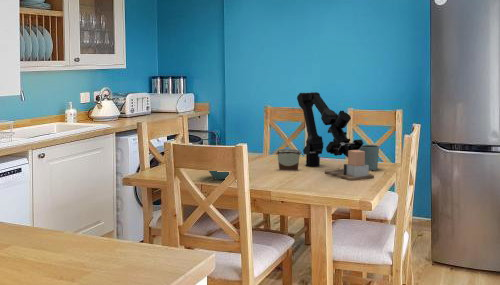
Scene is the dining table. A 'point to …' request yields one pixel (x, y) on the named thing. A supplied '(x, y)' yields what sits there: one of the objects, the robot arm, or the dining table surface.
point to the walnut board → (341, 175)
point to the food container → (288, 159)
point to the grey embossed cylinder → (371, 156)
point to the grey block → (356, 170)
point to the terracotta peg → (356, 157)
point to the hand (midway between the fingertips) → (352, 159)
